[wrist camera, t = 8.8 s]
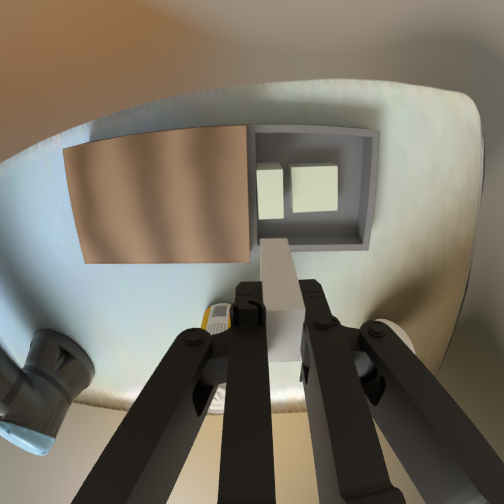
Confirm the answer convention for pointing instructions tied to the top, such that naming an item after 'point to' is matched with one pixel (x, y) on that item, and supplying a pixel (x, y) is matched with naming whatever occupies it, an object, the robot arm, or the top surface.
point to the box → (349, 184)
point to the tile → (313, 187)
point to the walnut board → (162, 196)
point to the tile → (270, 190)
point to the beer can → (215, 323)
